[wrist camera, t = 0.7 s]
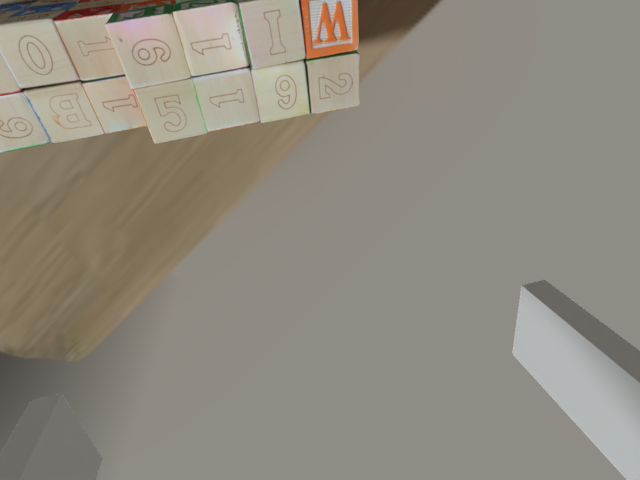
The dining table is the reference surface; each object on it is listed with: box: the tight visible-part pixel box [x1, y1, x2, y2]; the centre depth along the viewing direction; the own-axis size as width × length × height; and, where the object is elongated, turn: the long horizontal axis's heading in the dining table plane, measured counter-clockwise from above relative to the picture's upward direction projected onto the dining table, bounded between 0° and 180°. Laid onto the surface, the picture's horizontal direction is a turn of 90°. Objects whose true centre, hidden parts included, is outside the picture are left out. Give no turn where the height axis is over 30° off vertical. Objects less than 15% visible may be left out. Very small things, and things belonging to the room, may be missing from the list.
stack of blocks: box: [0, 0, 360, 153], centre depth 24 cm, size 21×6×12 cm, turn 95°
